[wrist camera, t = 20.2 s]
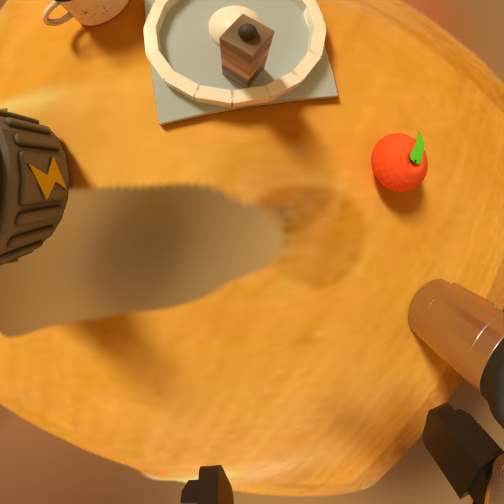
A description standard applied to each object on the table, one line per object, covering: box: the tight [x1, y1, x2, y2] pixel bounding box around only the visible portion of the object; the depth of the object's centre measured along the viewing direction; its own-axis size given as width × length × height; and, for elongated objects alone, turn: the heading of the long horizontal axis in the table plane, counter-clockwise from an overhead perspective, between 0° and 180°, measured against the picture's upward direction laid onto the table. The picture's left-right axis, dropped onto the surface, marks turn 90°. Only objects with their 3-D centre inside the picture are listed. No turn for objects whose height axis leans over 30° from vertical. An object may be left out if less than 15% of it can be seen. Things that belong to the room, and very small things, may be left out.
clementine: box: [371, 131, 428, 192], centre depth 31 cm, size 8×7×7 cm
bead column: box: [219, 14, 275, 88], centre depth 25 cm, size 3×3×11 cm
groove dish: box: [143, 0, 338, 126], centre depth 29 cm, size 21×21×3 cm
